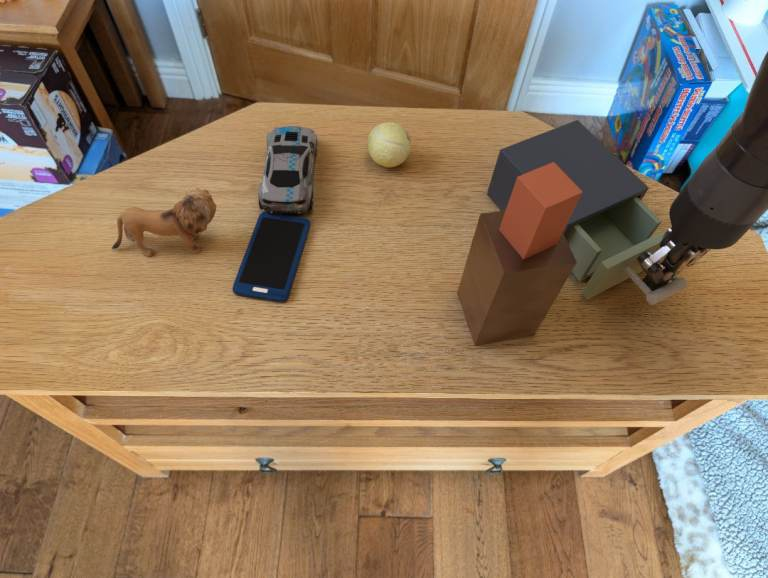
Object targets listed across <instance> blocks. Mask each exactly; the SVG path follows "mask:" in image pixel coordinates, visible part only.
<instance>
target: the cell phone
mask: <svg viewBox="0 0 768 578" xmlns="http://www.w3.org/2000/svg"><path fill="white" fill-rule="evenodd" d="M310 228H311V220H310V219H309V218H307V217H303V216H298V215H293V214H285V213H283V214H281V213H279V214H278V213H275V214H272V213H267V212H265V211H262V212H261V213H259V215H258V218H257V220H256V222H255V225H254V227H253V231H252V233H251V236H250V238H249V242H248V244H247V247H246V249H245V251H244V255H243V258H242V260H241V263H240V266H239V267H238V271H237V274H236V277H235V279H234V282H233V283H232V284H233V285H232V289H231V290H232V292H233V293H234V295H237V296H242V297H247V298H254V299H260V300H266V301H272V302H277V303H284V302H287V301H288V299H289V297H290V294H291V291H292V289H293V284H294V282H295V278H296V275H297V271H298V269H299V265H300V262H301V258H302V256H303V252H304V248H305V246H306V241H307V239H308V236H309V232H310V230H311V229H310Z"/></svg>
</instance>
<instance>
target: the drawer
mask: <svg viewBox="0 0 768 578" xmlns="http://www.w3.org/2000/svg"><path fill="white" fill-rule="evenodd" d="M662 222H663V221H662V219H661V218H660V217H658V216H657V215H656V213H655V212H654V211H652V210H651V208H649V206H647V205H646V204H645V203H644V202H643V201H642V200H640V199H639V198H638V197H635V198H632V199H630V200H628V201H626V202H624V203H621V204H619V205H617V206H615V207H613V208H610V209H608V210H606V211H604V212H602V213H599V214H597V215H595V216H593V217H591V218H588V219H586V220H584V221H582V222H580V223H578V224H575V225H573V226H571V228H570V230H569V232H568V234H567V236H566V240H567V243H568V245H569V247H570V249H571V251H572V253H573V255H574V257H575V259H576V261H577V263H576V265H575V267H574V268H573V270H572V272H571V274H573V275H574V276H575V279H577V280H578V281H579V282H581V281H583V280H586V279H587V278H589V277H590V279H589V280H588V282H587V283H586V285H585V286H584V287H583V289H582V291H581V295H582V296H583V297H584V298H585V299H586V300H589V299H591V298H593V297H595V296H597V295H599V294H601V293H603V292H605V291H606V290H609V289H611V288H613V287H614V286H616V285H618V284H620V283H623V282H625V281H626V280H628V279H631V280H632V281H633V283H635V284H636V286H638V288H639V289H640V290H641V291H642V292H643V293H644V294H645V300H646V302H647V303H648V304H649V305H652V306H654V305H656V304H659V303H660V302H662V301H664V300H666V299H667V298H670V297H671V296H673V295H675V294H677V293H679V292H681V291H682V290H684V289H686V288H687V287H688V281H687V279H686V278H684V277H683V276H677V275H674V276H673V277H672V279H671V280H670V281H669V282H668V283H667V284H665V285H664V286H662V287H660V288H658V289H656V290H654V291H651V289H650V288H649V287H648V286H647V285H646V284H645V283H644V282H643V281H642V280H643V279H641V277H639V275H638V274H640V273H642V272H645V271H644V270H643V269H642V268H641V266H640V264H639V262H638V260H637V258H638V256H639V255H640V254H641V253H644V252H646V253H649V252H651V253H652V254H654V253H655V251H656V249H657V248H658V246H659V245H660V242H661V241H662V239H663V236H664V234H665V233H666V231H667V230H668V229H670V228H671V227H669V228H667V229H665V230H663V231H660V233H657V234H655V235H654V233H655V232H656V231H657V229H658V228H659V227H660V225H661V224H662Z"/></svg>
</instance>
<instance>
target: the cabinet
mask: <svg viewBox="0 0 768 578" xmlns="http://www.w3.org/2000/svg"><path fill="white" fill-rule="evenodd" d="M552 162H554V163H555V164H556V165H557V166H558V167H559V168H560V169H561V170H562V171H563V172H564V173H565V174H566V175H567V176H568V177H569V178H570V179H571V180H572V181H573V182H574V183H575V184H576V185H577V186H578V188H579V189H580V190H581V191H582V192H583V193H582V195H581V197H580V199H579V201H578V203H577V205H576V207H575V209H574V211H573V213H572V215H571V217H570V219H569V221H568V223H567V225H566V227H565V229H564V231H563V234H564V236H565V238H566V236H567V234H568V232H569V230H570V228H571V226H573V225H575V224H578V223H580V222H582V221H584V220H586V219H588V218H591V217H593V216H595V215H597V214H599V213H602V212H604V211H606V210H608V209H610V208H613V207H615V206H617V205H619V204H621V203H624V202H626V201H628V200H630V199H632V198H635V197H638V198H639V199H640V200H641V201H642V200H643V199H644V197H645V196H646V194H647V192H648V190H649V189H650V187H649V186H648V185H647V184H646V183H645V182H643V180H642V179H641V178H640V177H639V176H637V174H635V172H633V171H632V170H631V169H630V168H629V167H628V166H627V165H626V164H625V163H624V162H622V160H621V159H620V158H618V157H617V156H616V155H615V154H614V153H613V152H612V151H611V150H610V149H609V148H608V147H607V146H606V145H605V144H604V143H603V142H602V141H601V140H599V139H598V137H596V136H595V135H594V134H593V133H592V132H591V131H590V130H589V129H588V128H587V127H586V126H585V125H584V124H582V122H581V121H580V120H578V119H576V120H573V121H570V122H568V123H565V124H562V125H560V126H558V127H555V128H552V129H551V130H550V129H549V130H547V131H545V132H542V133H539V134H537V135H533V136H532V137H529V138H526V139H524V140H521V141H519V142H516V143H514V144H510V145H508V146H505V147H503V148H500V149H499V152H498V155H497V158H496V162H495V165H494V169H493V171H492V175H491V179H490V182H489V184H488V189H487V193H486V195H487V196H488V197H489V198H490V199H491V201H492V203H494V204H495V206H496V207H497V208H498V209H499V211H504V210H506V208H507V205H508V202H509V200H510V197H511V194H512V191H513V188H514V185H515V182H516V180H517V177H518V176H520V175H523V174H525V173H528V172H530V171H533V170H535V169H538V168H540V167H543V166H545V165H548V164H550V163H552Z"/></svg>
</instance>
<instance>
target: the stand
mask: <svg viewBox="0 0 768 578" xmlns="http://www.w3.org/2000/svg"><path fill="white" fill-rule="evenodd" d="M505 211H506V210H504V211H501V210H496V211H490V212H489V211H488V212H483V213H480V214H479V217H478V220H477V223H476V226H475V231H474V234H473V237H472V240H471V245H470V247H469V251H468V253H467V254H468V255H467V258H466V261H465V264H464V268H463V272H462V275H461V278H460V282H459V285H458V288H457V292H456V293H457V297H458V299H459V300H458V301H459V303H460V306H461V308H462V311H463V315H464V318H465V320H466V323H467V327H468V329H469V333H470V335H471V338H472V341H473V345H474V346H482V345H487V344H492V343H498V342H505V341H510V340H515V339H520V338H527V337H532V336H535V335H536V334H537V332H538V330H539V328H540V327H541V325H542V324H543V321H544V320H545V318H546V317H547V315H548V313H549V312H550V309H551V308H552V306H553V305H554V303H555V301H556V300H557V298H558V296H559V294H560V292H561V291H562V290H563V287H564V286H565V284H566V282H567V280H568V278H569V276H570V275H571V274H572V270H573V268H574V267H575V265H576V263H577V261H576V259H575V257H574V255H573V253H572V251H571V249H570V247H569V245H568V243H567V240H566V238H565V236H564V234H563V233H562V235H561V237H560V239H559V241H558V243H557V244H556V245H554V246H552V247H550V248H548V249H545V250H543V251H541V252H539V253H537V254H535V255H533V256H530V257H528V258H526V259H524V260H523V259H522V257H521V256H520V255H519V254H518V252H517V251H516V250H515V249H514V248H513V246H512V245H511V244H510V243H509V242H508V240H507V239H506V238H505V237H504V236H503V234H502V233H501V232H500V231H499V228H500V225H501V222H502V220H503V217H504V214H505Z"/></svg>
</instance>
